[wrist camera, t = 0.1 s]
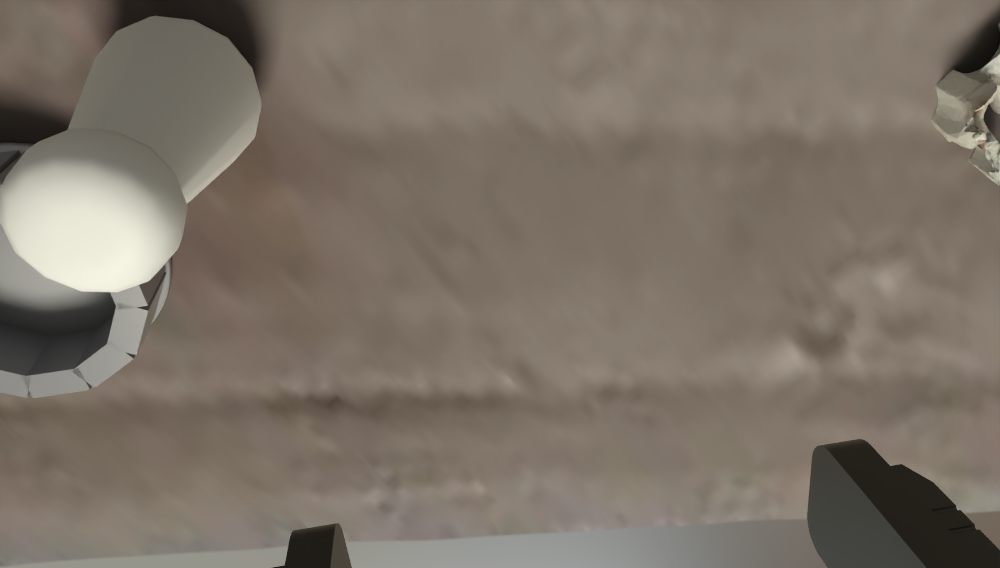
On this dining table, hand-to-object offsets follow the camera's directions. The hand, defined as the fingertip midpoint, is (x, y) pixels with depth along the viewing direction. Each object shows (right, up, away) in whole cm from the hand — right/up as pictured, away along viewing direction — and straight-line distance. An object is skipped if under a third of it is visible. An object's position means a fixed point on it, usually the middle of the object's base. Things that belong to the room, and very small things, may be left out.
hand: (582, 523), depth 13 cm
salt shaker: (-13, +12, +17) cm, 25 cm away
